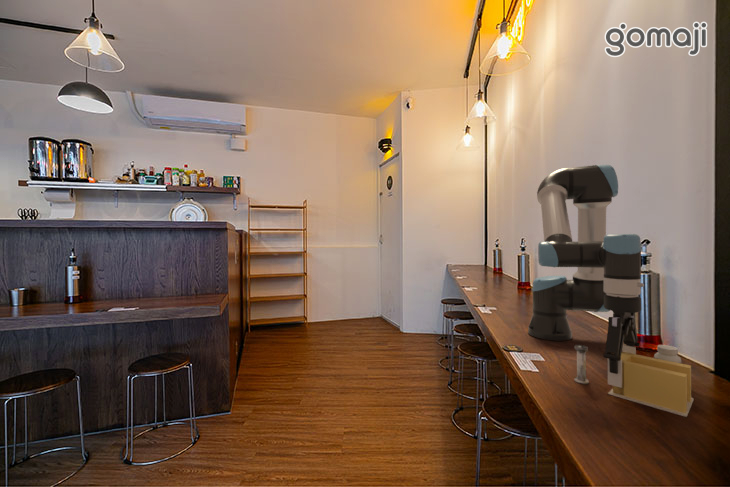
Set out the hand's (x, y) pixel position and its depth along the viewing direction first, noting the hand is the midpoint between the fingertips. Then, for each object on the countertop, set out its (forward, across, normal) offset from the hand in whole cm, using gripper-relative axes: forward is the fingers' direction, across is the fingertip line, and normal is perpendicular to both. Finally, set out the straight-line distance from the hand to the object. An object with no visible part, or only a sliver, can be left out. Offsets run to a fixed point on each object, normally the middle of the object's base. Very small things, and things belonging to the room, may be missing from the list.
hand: (622, 377), depth 84 cm
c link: (+3, 0, -6) cm, 6 cm away
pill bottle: (+3, +13, -7) cm, 15 cm away
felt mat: (+3, 0, -5) cm, 6 cm away
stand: (+3, -2, +8) cm, 9 cm away
